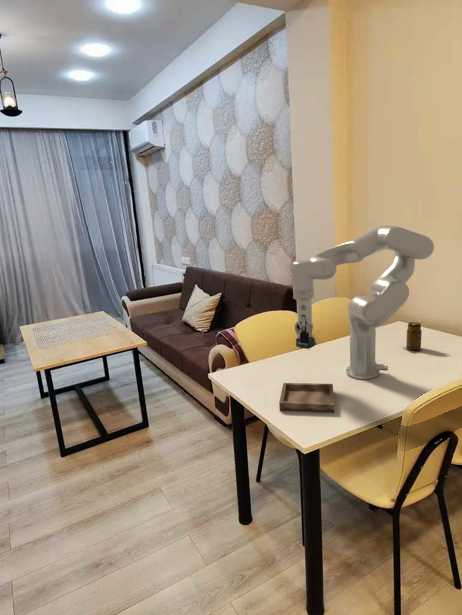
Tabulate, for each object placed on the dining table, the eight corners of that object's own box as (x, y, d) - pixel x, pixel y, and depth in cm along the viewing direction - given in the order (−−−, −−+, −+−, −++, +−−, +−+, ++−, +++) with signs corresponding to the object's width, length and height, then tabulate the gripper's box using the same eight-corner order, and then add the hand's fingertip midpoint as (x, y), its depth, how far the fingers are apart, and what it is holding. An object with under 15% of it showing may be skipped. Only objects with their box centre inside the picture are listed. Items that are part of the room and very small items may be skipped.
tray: (332, 391, 150) (332, 383, 149) (334, 413, 135) (334, 404, 134) (283, 390, 154) (283, 382, 153) (279, 411, 139) (279, 402, 138)
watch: (293, 347, 156) (292, 320, 153) (305, 341, 161) (304, 315, 158) (305, 350, 152) (304, 322, 149) (317, 344, 157) (316, 317, 155)
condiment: (415, 345, 189) (416, 320, 186) (427, 351, 181) (429, 325, 178) (401, 347, 188) (402, 322, 185) (413, 353, 180) (414, 327, 177)
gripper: (313, 299, 142) (314, 346, 147) (314, 288, 159) (315, 331, 163) (291, 299, 144) (293, 346, 148) (294, 289, 160) (296, 331, 165)
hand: (305, 338), depth 156 cm, fingers closed on watch, 8 cm apart
